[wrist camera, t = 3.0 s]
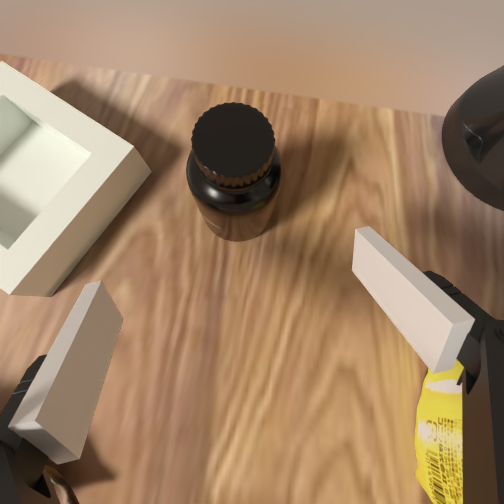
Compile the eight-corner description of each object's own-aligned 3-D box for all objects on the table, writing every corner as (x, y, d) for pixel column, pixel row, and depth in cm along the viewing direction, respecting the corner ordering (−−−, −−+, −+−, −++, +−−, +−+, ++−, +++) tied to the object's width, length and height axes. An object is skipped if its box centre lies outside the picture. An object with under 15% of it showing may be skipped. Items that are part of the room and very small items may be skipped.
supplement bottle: (195, 234, 27) (154, 177, 15) (213, 171, 28) (189, 73, 16) (264, 251, 26) (278, 206, 15) (279, 186, 28) (303, 98, 16)
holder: (152, 171, 28) (134, 146, 23) (50, 296, 25) (9, 294, 21) (39, 98, 29) (1, 61, 25) (-68, 209, 27) (-131, 190, 22)
